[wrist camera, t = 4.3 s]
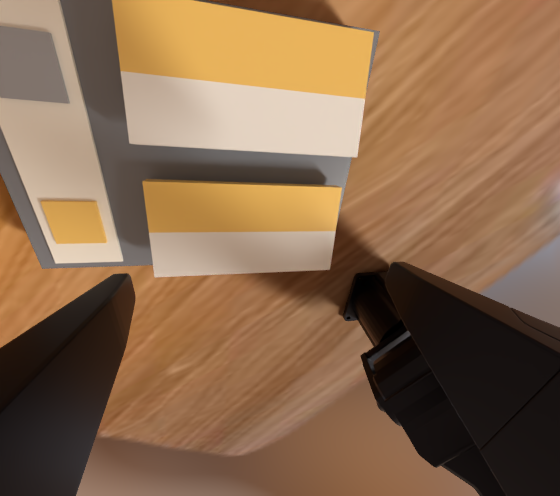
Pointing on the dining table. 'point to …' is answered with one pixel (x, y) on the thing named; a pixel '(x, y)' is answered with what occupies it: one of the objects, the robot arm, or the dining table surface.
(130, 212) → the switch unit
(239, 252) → the switch
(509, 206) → the dining table surface
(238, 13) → the switch
